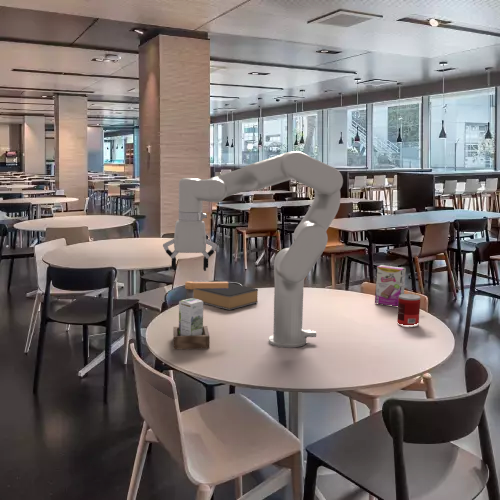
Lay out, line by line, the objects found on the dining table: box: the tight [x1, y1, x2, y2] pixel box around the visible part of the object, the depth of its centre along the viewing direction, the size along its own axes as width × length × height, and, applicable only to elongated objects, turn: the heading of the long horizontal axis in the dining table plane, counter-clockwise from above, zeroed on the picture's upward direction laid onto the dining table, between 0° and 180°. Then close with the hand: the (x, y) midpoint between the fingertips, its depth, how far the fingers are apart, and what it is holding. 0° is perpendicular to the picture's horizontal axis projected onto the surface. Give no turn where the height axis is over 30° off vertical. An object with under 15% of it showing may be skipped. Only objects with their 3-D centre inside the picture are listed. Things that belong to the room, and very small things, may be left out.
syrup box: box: [178, 298, 204, 336], centre depth 188 cm, size 6×6×14 cm
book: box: [194, 279, 259, 311], centre depth 244 cm, size 17×25×7 cm
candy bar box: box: [374, 264, 407, 307], centre depth 242 cm, size 11×5×16 cm, turn 58°
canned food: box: [396, 293, 421, 325], centre depth 213 cm, size 8×8×11 cm
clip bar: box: [184, 281, 229, 289], centre depth 196 cm, size 3×15×2 cm, turn 96°
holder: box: [172, 289, 211, 350], centre depth 191 cm, size 11×18×16 cm, turn 8°
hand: (189, 270), depth 185 cm, fingers open, 9 cm apart
